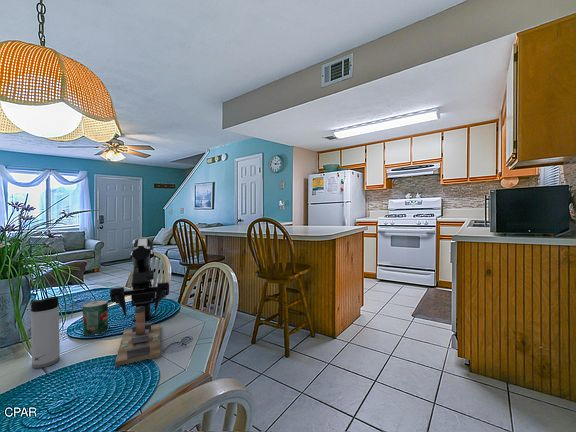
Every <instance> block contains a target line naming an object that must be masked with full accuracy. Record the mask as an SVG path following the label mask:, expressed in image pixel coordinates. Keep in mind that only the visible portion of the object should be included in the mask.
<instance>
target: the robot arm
mask: <svg viewBox="0 0 576 432" xmlns="http://www.w3.org/2000/svg"><path fill="white" fill-rule="evenodd" d="M132 245H133V246H132V247H133V249H132V250H130V251H131V252H130V256H129V257H130V261H132V265H133V271H132V272H133V273H132V279H131V289H127V290H125V287H124V286H118V287H112V288H111V289H110V291H109V297H110V301H111V303H114V304H115V305H116V304H118V305H119V306H120V308H121V310H122V312H123V316H124V317H126V316H127V306H126V305H127V304H126V297H128V296H131V297H130V298H131V308H132V307H135V308H136V307H140V306H144V307H145V321H149V320H150V319H151V318H152V317H153V316H154V315H155V312H157V310H158V307H159V306H160V303H161V302H162V299H163V298H165V297H166V296H169V295H170V283H169V282H168V281H165V282H164V281H163V282H157V286H153V284H152V281H153V280H154V279H155V272H154V271H155V270H154V269H151V259H153V258H154V257H155V252H154V243H153V242H152V240H150V238H149V237H147V236H145V237H137V238H136V241H135V242H133V244H132ZM151 280H152V281H151ZM152 304H154V313H152V311H151V310H152V306H151V305H152ZM150 317H151V318H150ZM149 318H150V319H149ZM133 319H134V320H135V317H134V318H132V319H131V321H132V320H133ZM148 319H149V320H148Z"/></svg>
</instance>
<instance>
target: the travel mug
mask: <svg viewBox="0 0 576 432" xmlns="http://www.w3.org/2000/svg"><path fill="white" fill-rule="evenodd" d="M59 305H60V304H59V296H49V297H46V298H42V299H35V300H32V301H30V334H31V337H30V338H31V339H30V340H31V367H32V368H34V369H43V368H47V367H49V366H52V365H54V364H56V363H58V362H59V360H60V359H61V355H60V352H61V351H60V350H61V349H60V348H61V347H60V306H59Z"/></svg>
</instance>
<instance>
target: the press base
mask: <svg viewBox="0 0 576 432" xmlns="http://www.w3.org/2000/svg"><path fill="white" fill-rule="evenodd" d="M148 329H149V341H144V342H139V343H134V344H131V338H132V333H133V332H136V324H132V328H127V329H124V330H123V334H122V337H121V340H120V344H119V348H118V351H117V355H116V358H115V361H114V364H115V365H114V368H119V367H121V366H120V365H123V366H125V365H124V364H127V365H130V364H129V363H132V364H134V363H133V362H136V361H140V360H145V359H149V360H153V359H158V358H161V324H160V323H157V324H152V322H145V330H148ZM145 361H146V360H145ZM140 362H141V361H140ZM136 363H137V362H136Z"/></svg>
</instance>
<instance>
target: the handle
mask: <svg viewBox="0 0 576 432" xmlns="http://www.w3.org/2000/svg"><path fill="white" fill-rule="evenodd" d="M134 315H135V317H134V318H135V320H136V321H135V325H136V332H133V333H132V338H131V344H134V343H139V342H144V341H149V329H148V330H145V323H146V320H145V307H144V306H140V307H136V306H135V308H134Z"/></svg>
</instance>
